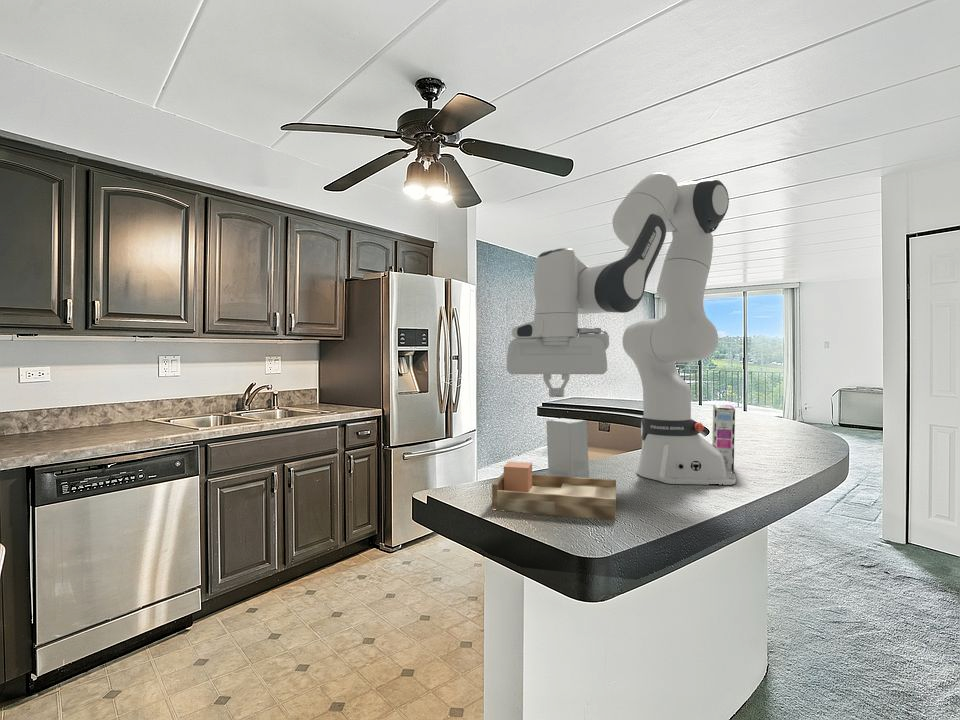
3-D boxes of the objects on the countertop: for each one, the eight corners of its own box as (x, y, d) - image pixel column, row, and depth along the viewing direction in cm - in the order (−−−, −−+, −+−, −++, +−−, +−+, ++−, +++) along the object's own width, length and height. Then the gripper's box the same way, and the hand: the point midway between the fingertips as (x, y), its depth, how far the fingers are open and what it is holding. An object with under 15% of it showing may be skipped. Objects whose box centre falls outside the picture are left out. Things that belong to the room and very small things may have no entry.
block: (532, 486, 108) (532, 462, 108) (528, 493, 103) (528, 467, 103) (508, 485, 109) (508, 461, 109) (503, 491, 104) (503, 466, 104)
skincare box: (589, 485, 119) (589, 420, 119) (570, 488, 116) (570, 422, 116) (564, 477, 126) (564, 416, 126) (545, 481, 123) (545, 418, 123)
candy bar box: (735, 473, 130) (735, 408, 130) (713, 472, 132) (713, 407, 132) (732, 464, 141) (732, 404, 140) (711, 463, 143) (712, 403, 142)
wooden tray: (615, 497, 108) (615, 474, 108) (615, 520, 94) (615, 492, 94) (508, 490, 114) (508, 467, 114) (492, 510, 100) (492, 484, 100)
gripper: (609, 328, 106) (609, 396, 106) (510, 330, 111) (511, 394, 111) (608, 327, 99) (609, 398, 100) (504, 329, 105) (505, 397, 105)
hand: (556, 396), depth 105 cm, fingers closed
